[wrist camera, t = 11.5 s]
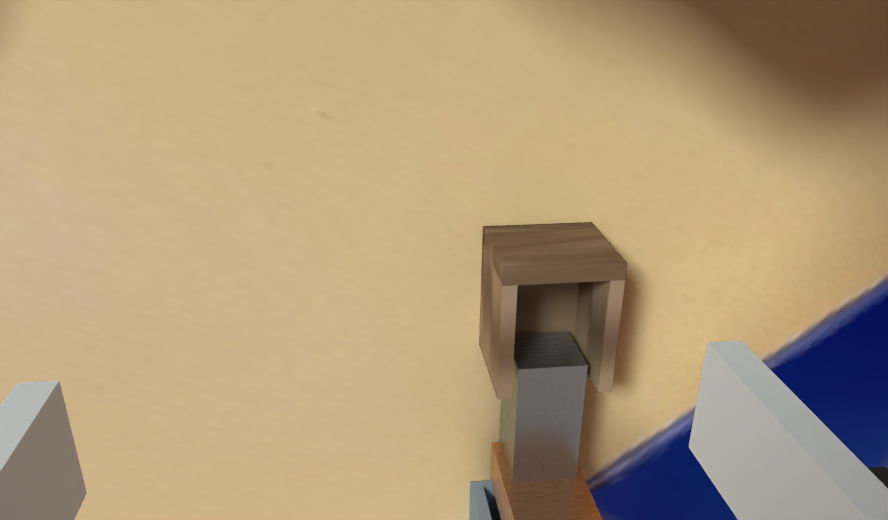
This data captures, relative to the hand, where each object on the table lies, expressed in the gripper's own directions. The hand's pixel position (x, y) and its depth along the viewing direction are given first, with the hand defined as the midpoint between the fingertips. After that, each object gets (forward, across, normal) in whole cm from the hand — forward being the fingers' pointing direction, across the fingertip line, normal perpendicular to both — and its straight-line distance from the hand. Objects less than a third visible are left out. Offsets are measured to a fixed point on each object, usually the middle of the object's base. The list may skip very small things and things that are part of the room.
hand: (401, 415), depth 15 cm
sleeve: (+27, +10, -10) cm, 30 cm away
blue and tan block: (+25, +10, -20) cm, 34 cm away
